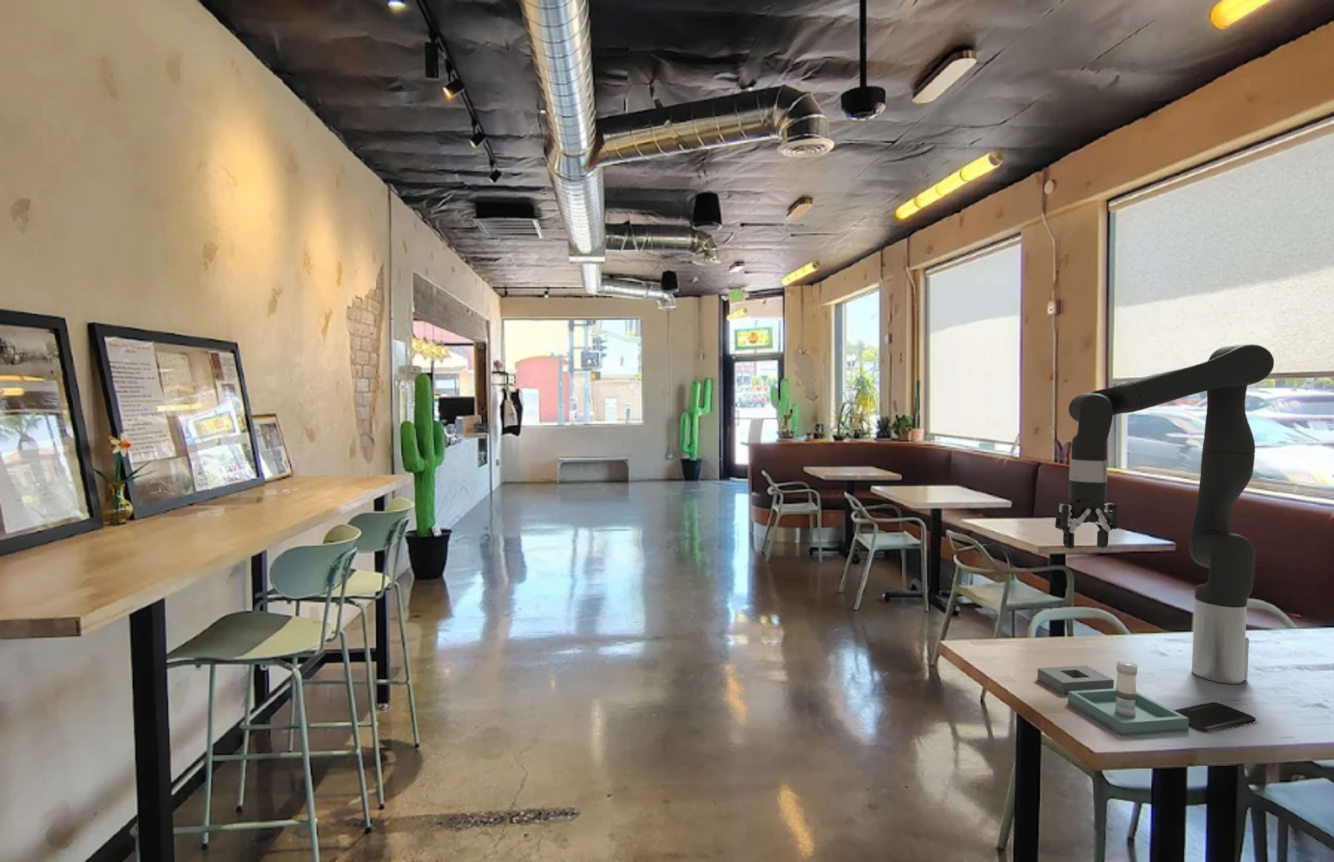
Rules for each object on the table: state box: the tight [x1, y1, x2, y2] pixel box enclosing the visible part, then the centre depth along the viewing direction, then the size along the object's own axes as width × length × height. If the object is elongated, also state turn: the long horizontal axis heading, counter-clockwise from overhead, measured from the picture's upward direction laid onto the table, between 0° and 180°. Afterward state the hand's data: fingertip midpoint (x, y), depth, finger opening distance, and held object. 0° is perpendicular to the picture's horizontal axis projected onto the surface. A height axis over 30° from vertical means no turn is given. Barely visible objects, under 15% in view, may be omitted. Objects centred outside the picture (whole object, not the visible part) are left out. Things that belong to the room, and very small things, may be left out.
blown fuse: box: [1115, 660, 1138, 717], centre depth 135 cm, size 3×3×10 cm
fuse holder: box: [1037, 665, 1115, 695], centre depth 150 cm, size 12×8×2 cm, turn 98°
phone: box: [1173, 701, 1256, 733], centre depth 135 cm, size 8×1×15 cm
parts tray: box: [1067, 687, 1190, 737], centre depth 136 cm, size 14×14×2 cm
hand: (1085, 547), depth 161 cm, fingers open, 8 cm apart
